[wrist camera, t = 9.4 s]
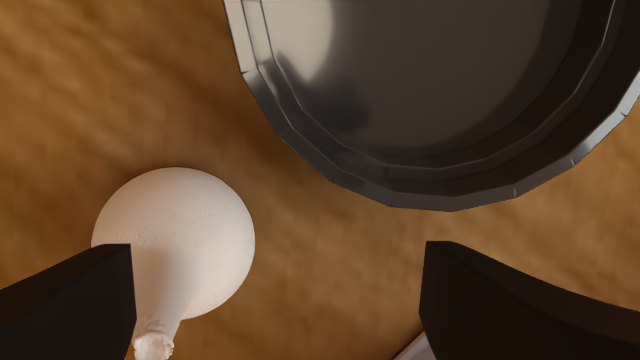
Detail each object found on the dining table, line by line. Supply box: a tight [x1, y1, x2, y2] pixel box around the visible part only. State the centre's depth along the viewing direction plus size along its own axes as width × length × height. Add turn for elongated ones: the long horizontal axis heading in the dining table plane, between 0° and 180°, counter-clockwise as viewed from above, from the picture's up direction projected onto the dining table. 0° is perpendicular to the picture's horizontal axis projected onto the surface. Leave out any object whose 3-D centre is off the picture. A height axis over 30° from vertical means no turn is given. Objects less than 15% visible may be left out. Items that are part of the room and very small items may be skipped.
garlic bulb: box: [91, 167, 255, 360], centre depth 17 cm, size 6×6×8 cm
